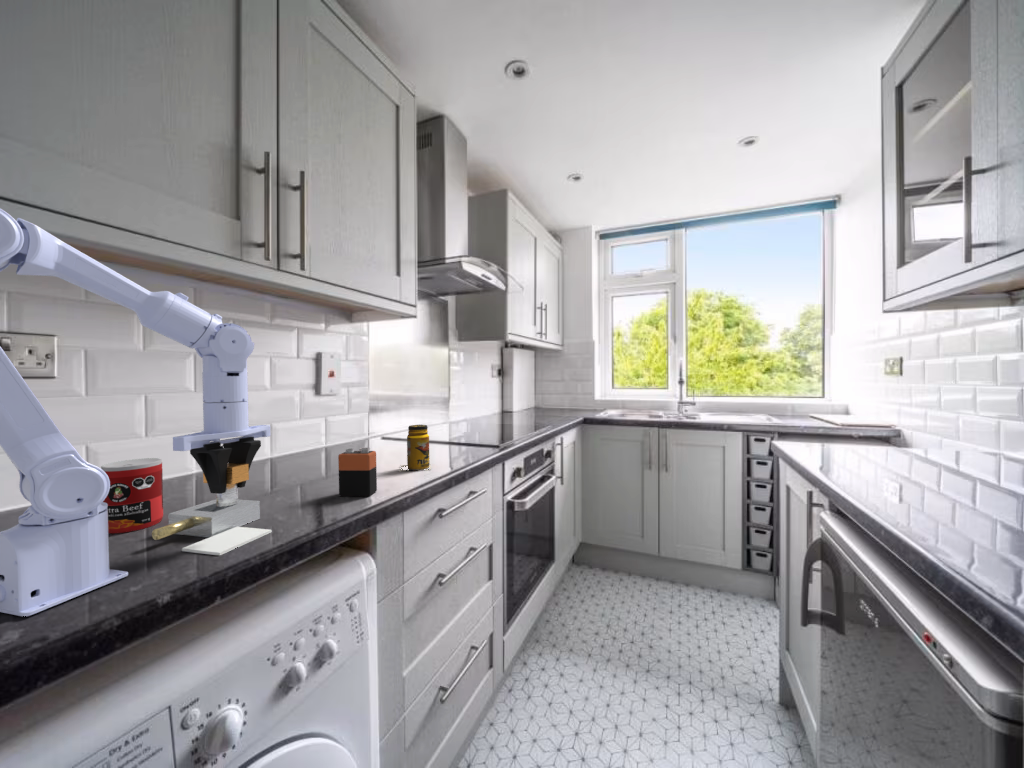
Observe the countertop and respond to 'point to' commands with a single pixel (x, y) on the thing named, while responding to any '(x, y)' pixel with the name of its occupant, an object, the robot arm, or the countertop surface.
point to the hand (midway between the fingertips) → (228, 489)
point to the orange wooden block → (232, 484)
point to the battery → (357, 473)
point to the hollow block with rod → (209, 519)
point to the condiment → (417, 448)
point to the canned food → (134, 494)
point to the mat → (226, 540)
